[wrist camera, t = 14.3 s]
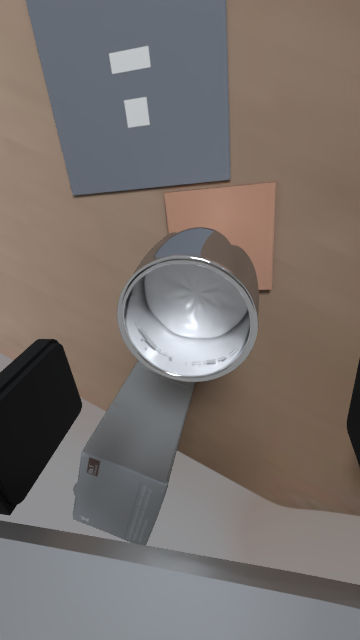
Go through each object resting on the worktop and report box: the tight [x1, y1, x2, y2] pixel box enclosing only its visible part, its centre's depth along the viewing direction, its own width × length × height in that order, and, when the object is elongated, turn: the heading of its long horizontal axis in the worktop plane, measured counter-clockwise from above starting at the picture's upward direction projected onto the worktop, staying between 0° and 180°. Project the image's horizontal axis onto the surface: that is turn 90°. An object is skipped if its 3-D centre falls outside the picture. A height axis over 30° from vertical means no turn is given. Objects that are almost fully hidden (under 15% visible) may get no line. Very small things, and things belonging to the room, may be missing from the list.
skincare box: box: [73, 360, 196, 546], centre depth 29 cm, size 8×7×16 cm
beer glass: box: [117, 209, 259, 382], centre depth 21 cm, size 7×7×15 cm
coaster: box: [164, 182, 276, 290], centre depth 27 cm, size 9×9×1 cm
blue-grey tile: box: [26, 0, 230, 195], centre depth 23 cm, size 14×14×1 cm
